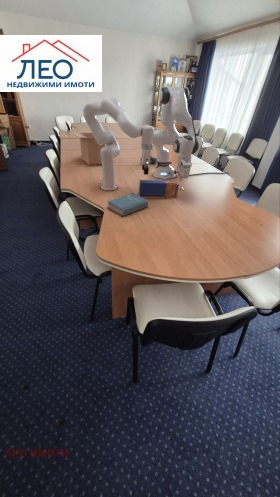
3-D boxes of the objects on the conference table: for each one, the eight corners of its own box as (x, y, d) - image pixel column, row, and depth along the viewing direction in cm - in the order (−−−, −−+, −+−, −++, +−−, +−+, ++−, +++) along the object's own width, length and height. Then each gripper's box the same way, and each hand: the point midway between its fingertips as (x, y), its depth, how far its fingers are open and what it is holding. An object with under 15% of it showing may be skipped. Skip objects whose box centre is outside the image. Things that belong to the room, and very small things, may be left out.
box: (116, 165, 229) (116, 136, 213) (83, 168, 214) (80, 137, 198) (102, 154, 259) (101, 128, 243) (71, 156, 244) (68, 129, 228)
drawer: (181, 194, 175) (183, 182, 169) (183, 197, 171) (185, 184, 165) (152, 194, 172) (153, 181, 166) (153, 196, 168) (154, 184, 162)
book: (132, 199, 164) (132, 193, 161) (147, 207, 155) (148, 200, 152) (107, 207, 150) (107, 200, 147) (123, 216, 141) (123, 209, 138)
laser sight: (159, 165, 238) (161, 156, 232) (139, 163, 241) (140, 153, 235) (161, 163, 246) (162, 153, 240) (141, 161, 248) (141, 151, 242)
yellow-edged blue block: (163, 194, 174) (165, 180, 168) (164, 198, 169) (166, 183, 163) (138, 194, 172) (139, 179, 165) (139, 198, 167) (140, 182, 160)
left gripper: (139, 143, 155) (138, 168, 165) (142, 149, 141) (141, 176, 152) (150, 144, 156) (148, 168, 166) (154, 149, 142) (152, 176, 153)
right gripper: (176, 157, 165) (173, 175, 173) (183, 165, 149) (180, 185, 157) (184, 157, 166) (181, 175, 174) (192, 165, 150) (188, 185, 158)
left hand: (145, 172), depth 159 cm, fingers open, 9 cm apart
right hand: (180, 180), depth 166 cm, fingers closed
